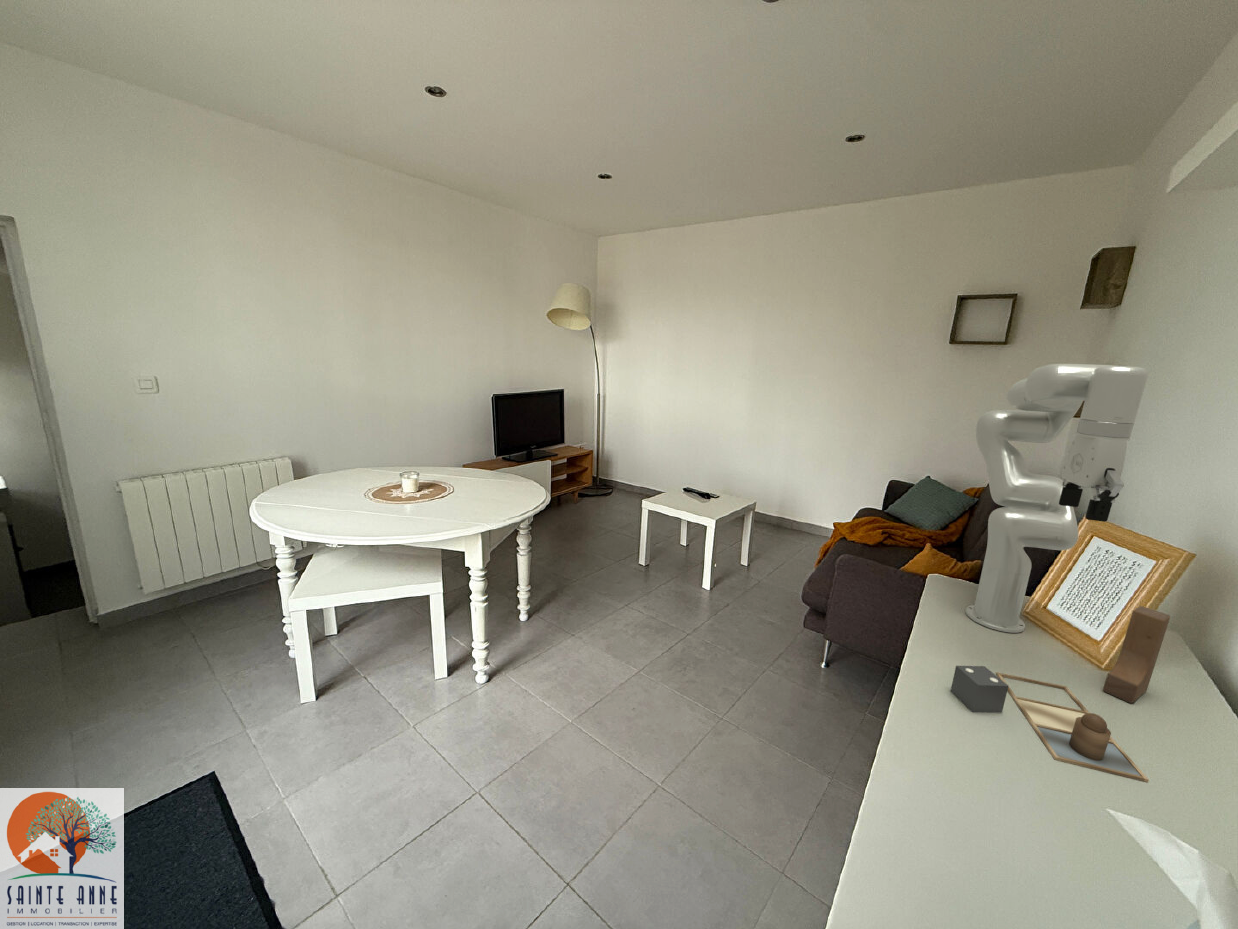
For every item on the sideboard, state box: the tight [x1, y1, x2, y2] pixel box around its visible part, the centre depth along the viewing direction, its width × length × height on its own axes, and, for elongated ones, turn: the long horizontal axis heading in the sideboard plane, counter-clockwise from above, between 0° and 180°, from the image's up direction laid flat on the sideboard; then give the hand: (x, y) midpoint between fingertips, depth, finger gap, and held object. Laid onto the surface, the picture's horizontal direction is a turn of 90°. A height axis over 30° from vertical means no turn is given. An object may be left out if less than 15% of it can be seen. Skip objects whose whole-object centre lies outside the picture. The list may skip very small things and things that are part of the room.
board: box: [995, 671, 1150, 783], centre depth 91 cm, size 24×12×1 cm, turn 161°
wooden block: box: [1102, 605, 1171, 704], centre depth 98 cm, size 9×4×18 cm, turn 119°
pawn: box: [1069, 712, 1112, 761], centre depth 83 cm, size 4×4×7 cm
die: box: [950, 665, 1009, 713], centre depth 95 cm, size 6×6×6 cm
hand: (1081, 512), depth 96 cm, fingers open, 9 cm apart
